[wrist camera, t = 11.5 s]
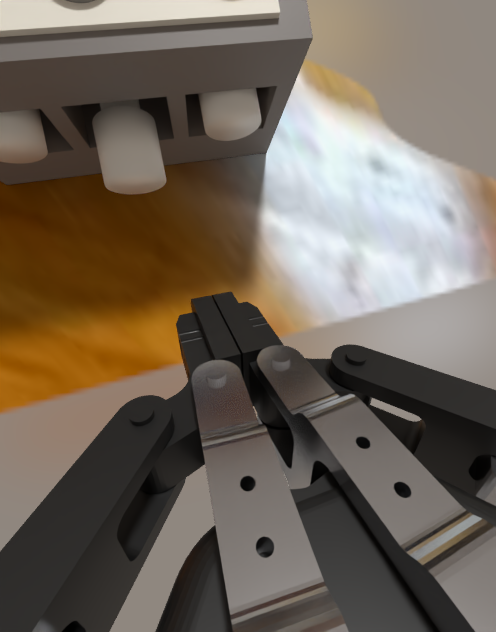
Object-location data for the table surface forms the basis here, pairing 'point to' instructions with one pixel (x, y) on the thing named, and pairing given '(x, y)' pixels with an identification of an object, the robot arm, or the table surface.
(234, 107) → the button right
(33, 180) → the button box
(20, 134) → the button left
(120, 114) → the button middle
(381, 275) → the table surface
